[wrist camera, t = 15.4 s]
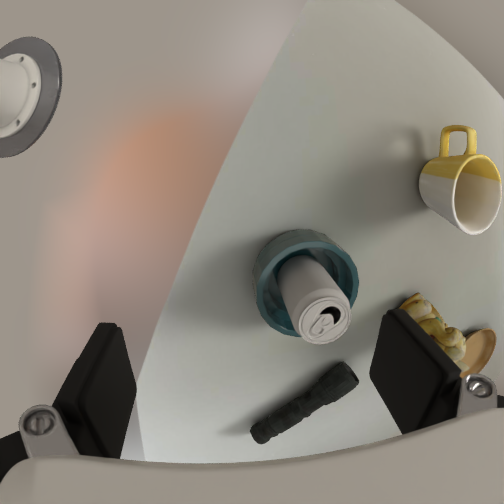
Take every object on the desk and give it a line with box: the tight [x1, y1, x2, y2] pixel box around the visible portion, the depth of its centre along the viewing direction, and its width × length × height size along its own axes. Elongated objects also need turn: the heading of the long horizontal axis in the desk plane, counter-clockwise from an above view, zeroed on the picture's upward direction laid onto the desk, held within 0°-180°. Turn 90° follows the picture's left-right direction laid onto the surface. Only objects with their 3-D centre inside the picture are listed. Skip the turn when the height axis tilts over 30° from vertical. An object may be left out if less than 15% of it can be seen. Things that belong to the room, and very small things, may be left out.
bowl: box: [253, 230, 359, 337], centre depth 40 cm, size 13×13×6 cm
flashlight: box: [250, 362, 359, 444], centre depth 49 cm, size 5×21×5 cm, turn 132°
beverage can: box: [277, 255, 351, 344], centre depth 36 cm, size 6×6×12 cm
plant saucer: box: [460, 328, 496, 379], centre depth 52 cm, size 15×15×3 cm
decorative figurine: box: [398, 293, 469, 372], centre depth 41 cm, size 10×8×15 cm
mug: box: [419, 125, 502, 235], centre depth 35 cm, size 14×10×10 cm
